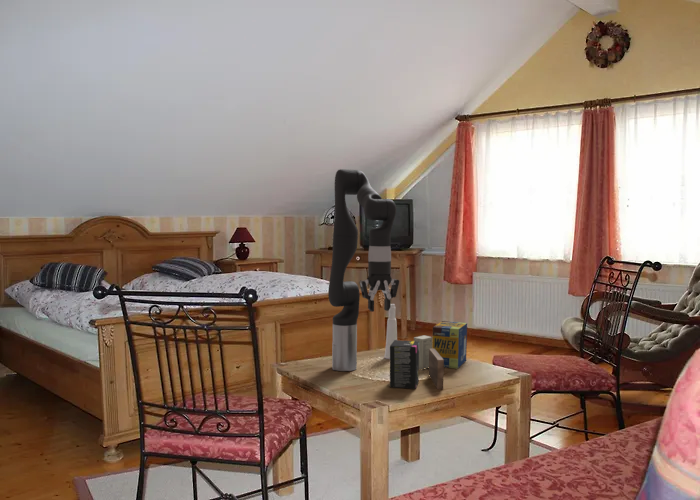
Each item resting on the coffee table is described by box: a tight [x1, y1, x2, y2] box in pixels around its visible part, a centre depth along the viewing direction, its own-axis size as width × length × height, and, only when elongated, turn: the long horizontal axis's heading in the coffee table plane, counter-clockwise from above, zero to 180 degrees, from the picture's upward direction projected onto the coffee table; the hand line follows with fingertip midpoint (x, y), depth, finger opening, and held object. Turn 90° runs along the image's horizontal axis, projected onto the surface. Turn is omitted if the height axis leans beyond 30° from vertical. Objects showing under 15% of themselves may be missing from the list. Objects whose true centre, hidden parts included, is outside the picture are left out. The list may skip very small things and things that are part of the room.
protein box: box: [432, 320, 468, 370], centre depth 267 cm, size 10×15×16 cm
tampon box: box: [389, 339, 420, 390], centre depth 235 cm, size 11×9×15 cm
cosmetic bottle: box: [383, 303, 398, 360], centre depth 276 cm, size 6×6×22 cm
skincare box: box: [413, 335, 433, 369], centre depth 258 cm, size 6×4×12 cm
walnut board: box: [428, 349, 445, 390], centre depth 239 cm, size 2×18×10 cm, turn 3°
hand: (379, 310), depth 224 cm, fingers open, 5 cm apart
